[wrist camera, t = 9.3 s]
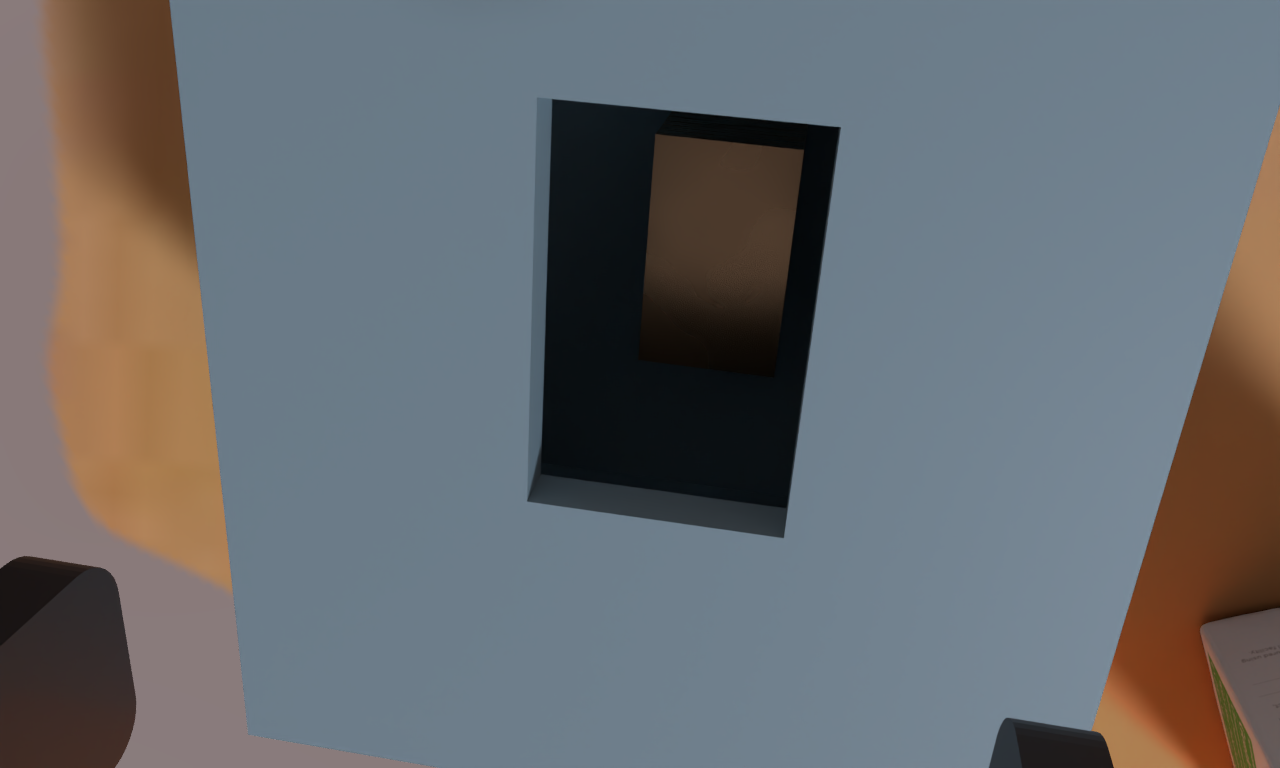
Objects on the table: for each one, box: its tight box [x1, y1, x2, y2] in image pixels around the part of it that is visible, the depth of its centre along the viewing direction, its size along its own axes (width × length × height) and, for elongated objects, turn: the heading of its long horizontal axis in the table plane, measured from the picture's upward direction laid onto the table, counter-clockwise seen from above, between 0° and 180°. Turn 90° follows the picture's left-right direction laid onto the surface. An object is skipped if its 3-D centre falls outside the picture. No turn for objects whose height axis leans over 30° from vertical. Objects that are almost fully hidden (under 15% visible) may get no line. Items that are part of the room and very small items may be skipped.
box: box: [169, 0, 1280, 768], centre depth 23 cm, size 16×20×12 cm
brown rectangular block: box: [638, 111, 808, 378], centre depth 26 cm, size 3×5×5 cm, turn 176°
